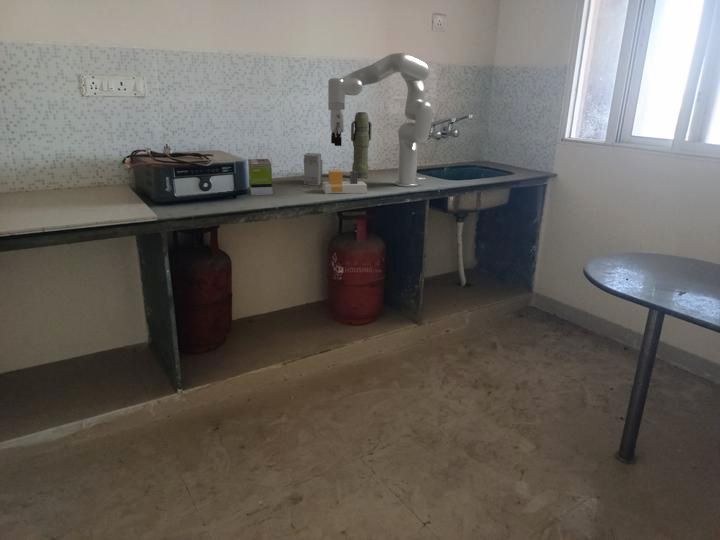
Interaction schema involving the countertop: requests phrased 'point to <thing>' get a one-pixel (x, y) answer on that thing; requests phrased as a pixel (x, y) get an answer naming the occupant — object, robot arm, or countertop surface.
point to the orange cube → (335, 177)
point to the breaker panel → (345, 187)
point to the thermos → (361, 143)
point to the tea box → (260, 176)
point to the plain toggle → (353, 177)
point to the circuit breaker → (312, 168)
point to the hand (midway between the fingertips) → (336, 144)
